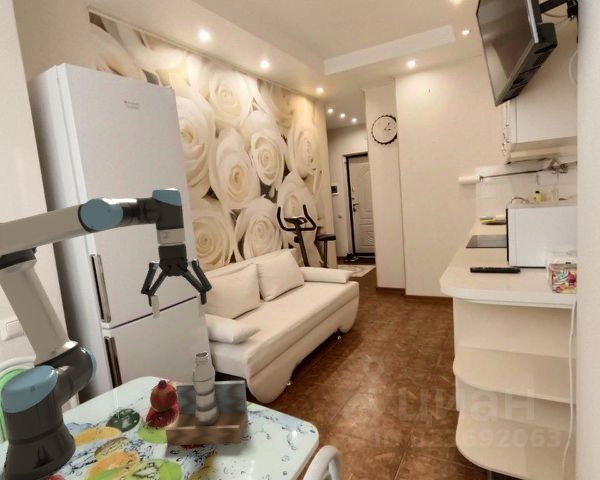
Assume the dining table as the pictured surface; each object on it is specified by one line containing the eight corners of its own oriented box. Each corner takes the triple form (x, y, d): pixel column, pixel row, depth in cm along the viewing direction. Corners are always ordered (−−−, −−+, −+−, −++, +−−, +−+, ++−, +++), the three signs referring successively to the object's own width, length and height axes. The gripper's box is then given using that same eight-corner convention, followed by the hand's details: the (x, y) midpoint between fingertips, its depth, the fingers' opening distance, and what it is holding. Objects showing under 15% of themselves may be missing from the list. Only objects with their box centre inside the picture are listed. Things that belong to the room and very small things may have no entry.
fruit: (165, 400, 117) (162, 372, 116) (183, 405, 113) (180, 376, 112) (145, 414, 110) (142, 384, 108) (164, 420, 106) (160, 388, 105)
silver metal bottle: (222, 414, 102) (216, 349, 99) (214, 430, 95) (208, 360, 92) (201, 414, 102) (195, 349, 100) (192, 429, 96) (185, 360, 93)
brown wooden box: (167, 445, 94) (162, 403, 93) (182, 420, 105) (178, 383, 104) (240, 443, 93) (236, 401, 92) (248, 418, 104) (244, 380, 102)
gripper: (122, 247, 96) (131, 322, 99) (210, 243, 94) (217, 319, 97) (136, 244, 104) (144, 313, 106) (218, 240, 102) (224, 310, 104)
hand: (179, 316), depth 101 cm, fingers open, 13 cm apart
